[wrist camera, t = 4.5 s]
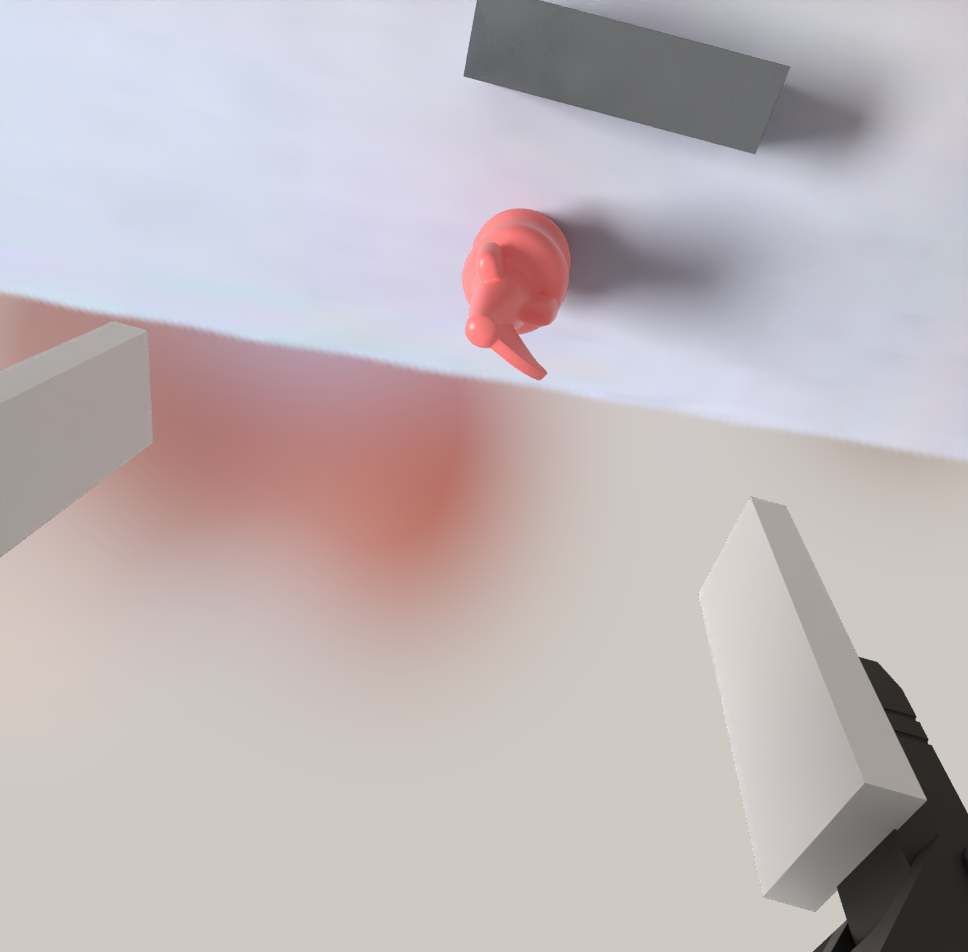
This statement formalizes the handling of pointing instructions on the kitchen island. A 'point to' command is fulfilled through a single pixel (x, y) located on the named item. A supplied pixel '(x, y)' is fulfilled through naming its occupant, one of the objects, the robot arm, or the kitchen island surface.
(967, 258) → the kitchen island surface
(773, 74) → the grey blocks
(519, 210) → the figurine
